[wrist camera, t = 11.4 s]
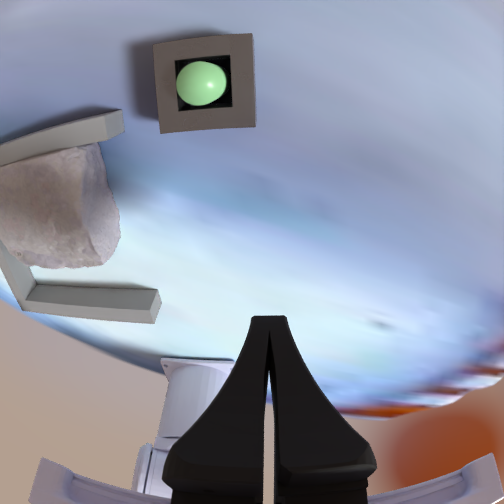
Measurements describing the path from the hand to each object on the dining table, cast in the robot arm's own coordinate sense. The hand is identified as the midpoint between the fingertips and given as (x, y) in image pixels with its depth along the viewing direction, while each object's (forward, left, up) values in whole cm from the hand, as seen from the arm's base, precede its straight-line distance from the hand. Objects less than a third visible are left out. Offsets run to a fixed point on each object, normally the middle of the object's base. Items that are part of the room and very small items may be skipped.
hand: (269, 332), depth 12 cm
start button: (+10, +3, -10) cm, 14 cm away
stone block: (+2, +17, -10) cm, 20 cm away
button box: (+10, +3, -10) cm, 14 cm away
